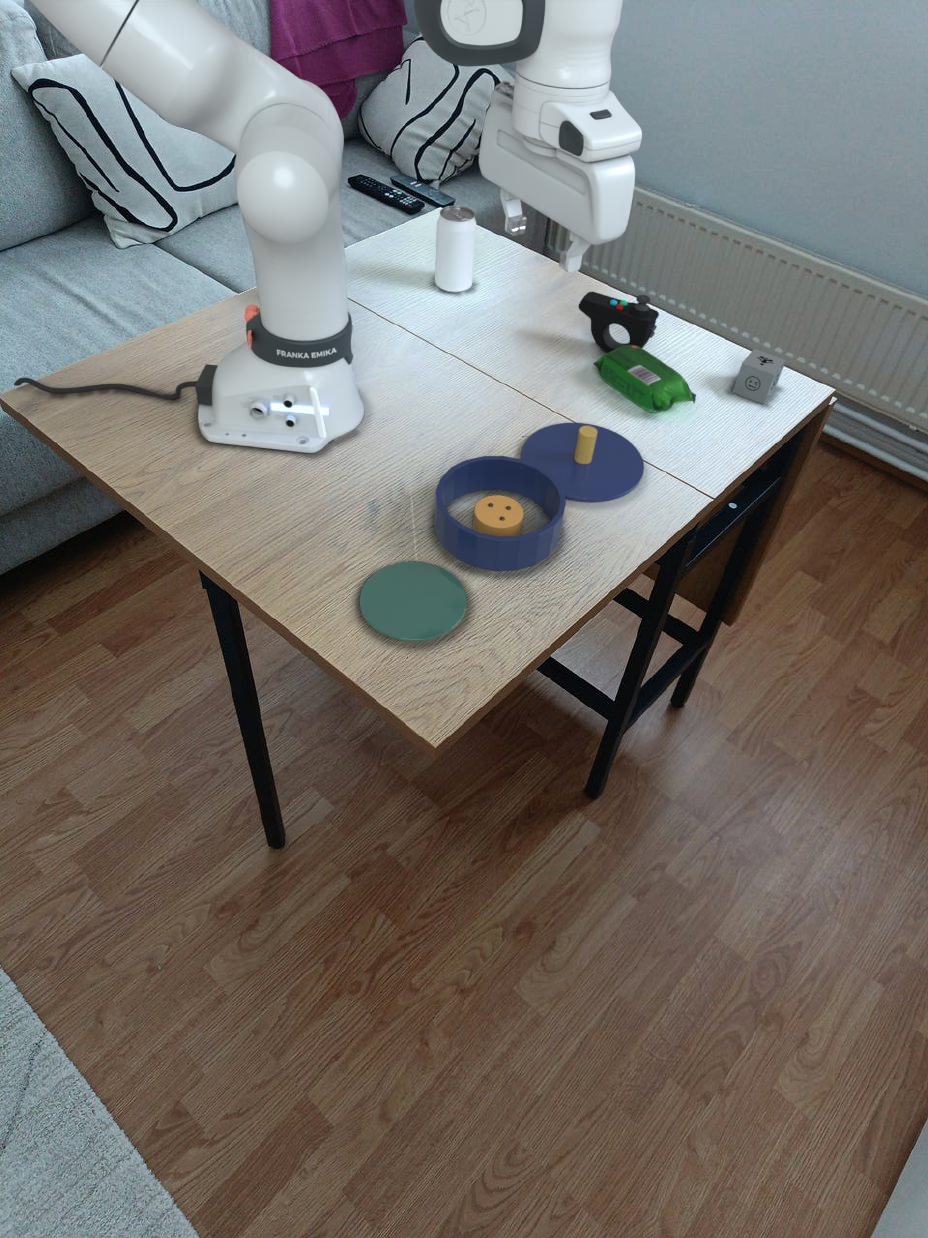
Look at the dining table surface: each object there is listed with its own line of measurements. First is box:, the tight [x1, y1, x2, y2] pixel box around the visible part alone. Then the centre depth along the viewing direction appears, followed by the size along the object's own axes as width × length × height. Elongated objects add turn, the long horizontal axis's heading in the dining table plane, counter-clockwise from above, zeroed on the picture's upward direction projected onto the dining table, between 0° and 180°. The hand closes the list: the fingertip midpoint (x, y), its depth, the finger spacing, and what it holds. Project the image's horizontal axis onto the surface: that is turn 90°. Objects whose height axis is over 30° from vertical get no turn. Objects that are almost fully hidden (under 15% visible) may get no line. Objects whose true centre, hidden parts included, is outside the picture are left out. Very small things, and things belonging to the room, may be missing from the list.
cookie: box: [472, 494, 525, 536], centre depth 106 cm, size 6×6×3 cm
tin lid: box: [520, 422, 645, 503], centre depth 115 cm, size 16×16×6 cm
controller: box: [577, 291, 660, 354], centre depth 134 cm, size 4×12×10 cm, turn 61°
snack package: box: [593, 345, 697, 414], centre depth 128 cm, size 7×16×5 cm, turn 35°
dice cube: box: [731, 348, 787, 405], centre depth 130 cm, size 5×5×5 cm
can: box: [434, 205, 477, 294], centre depth 144 cm, size 6×6×12 cm
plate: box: [359, 561, 468, 643], centre depth 98 cm, size 12×12×1 cm
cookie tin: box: [433, 455, 567, 572], centre depth 106 cm, size 15×15×6 cm
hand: (541, 250), depth 93 cm, fingers open, 8 cm apart
